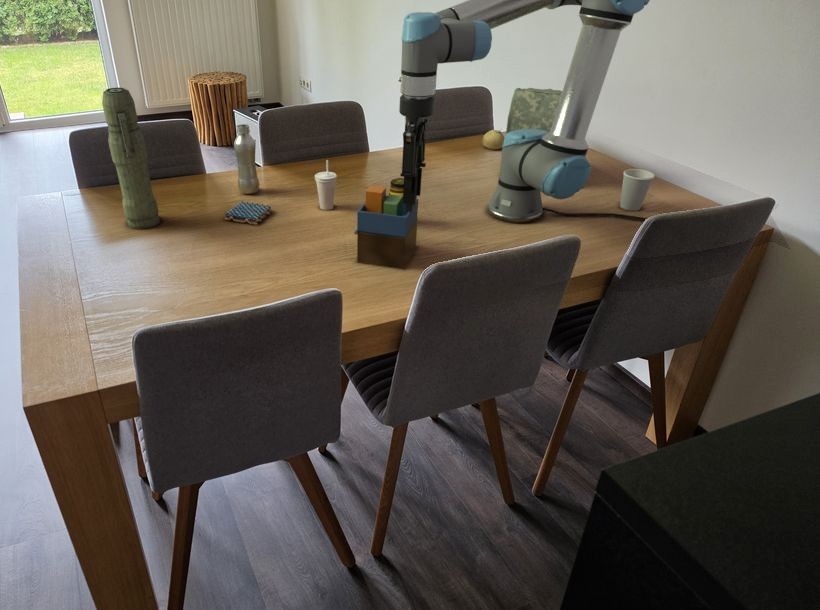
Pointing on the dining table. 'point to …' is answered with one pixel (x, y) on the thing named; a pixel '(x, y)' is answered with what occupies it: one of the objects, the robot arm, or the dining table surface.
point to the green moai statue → (130, 158)
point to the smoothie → (326, 188)
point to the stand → (385, 248)
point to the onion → (493, 139)
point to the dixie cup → (635, 188)
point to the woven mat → (248, 213)
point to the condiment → (397, 186)
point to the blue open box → (389, 219)
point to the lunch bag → (533, 109)
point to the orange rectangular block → (375, 199)
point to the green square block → (393, 205)
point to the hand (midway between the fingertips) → (411, 198)
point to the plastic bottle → (246, 160)
